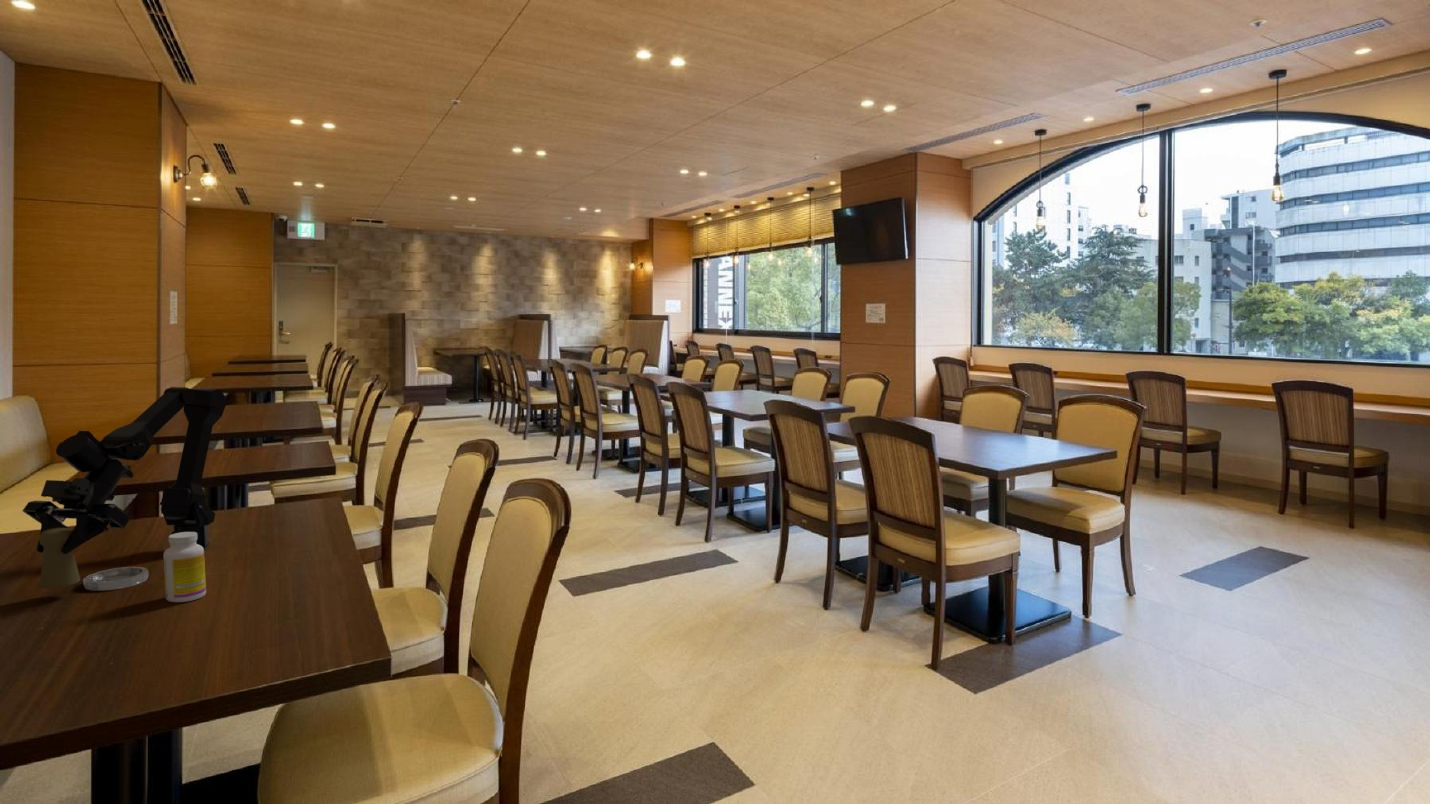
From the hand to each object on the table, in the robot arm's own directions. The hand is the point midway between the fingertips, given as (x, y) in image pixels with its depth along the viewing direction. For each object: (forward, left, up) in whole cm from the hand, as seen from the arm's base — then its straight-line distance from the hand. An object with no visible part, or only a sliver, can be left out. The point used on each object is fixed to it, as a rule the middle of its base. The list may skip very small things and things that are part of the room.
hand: (51, 552), depth 149 cm
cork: (-1, -1, -7) cm, 7 cm away
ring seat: (-8, -8, -9) cm, 15 cm away
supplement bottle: (-24, +7, -10) cm, 26 cm away
